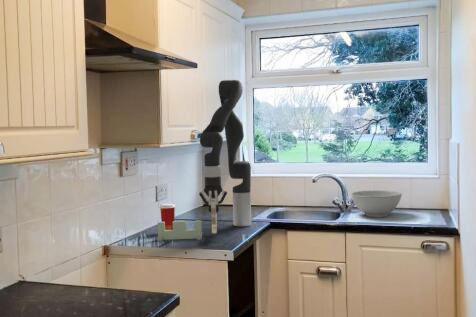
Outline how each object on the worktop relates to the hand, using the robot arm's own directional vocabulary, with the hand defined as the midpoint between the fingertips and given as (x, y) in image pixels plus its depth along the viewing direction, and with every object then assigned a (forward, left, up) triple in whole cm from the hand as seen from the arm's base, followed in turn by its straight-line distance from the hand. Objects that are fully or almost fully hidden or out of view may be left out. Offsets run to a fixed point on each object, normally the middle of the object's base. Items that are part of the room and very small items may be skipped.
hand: (213, 212), depth 240 cm
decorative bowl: (-44, +89, -12) cm, 100 cm away
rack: (0, -16, -12) cm, 20 cm away
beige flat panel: (0, 0, -8) cm, 8 cm away
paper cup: (-15, -23, -12) cm, 30 cm away
